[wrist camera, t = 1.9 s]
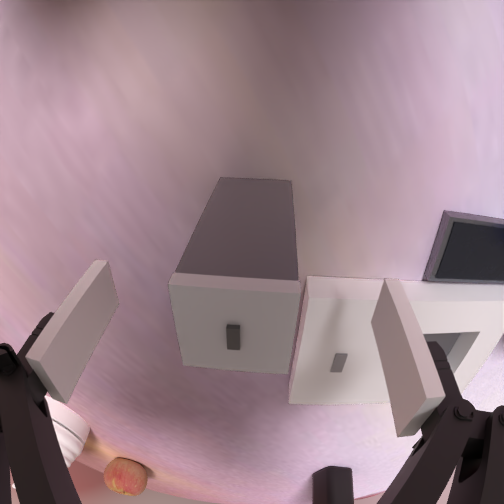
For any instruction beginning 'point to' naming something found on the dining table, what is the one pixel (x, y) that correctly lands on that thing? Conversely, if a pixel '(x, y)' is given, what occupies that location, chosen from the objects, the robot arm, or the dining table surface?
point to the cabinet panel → (363, 340)
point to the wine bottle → (333, 486)
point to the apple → (125, 477)
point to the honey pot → (68, 430)
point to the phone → (467, 249)
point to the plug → (239, 280)
